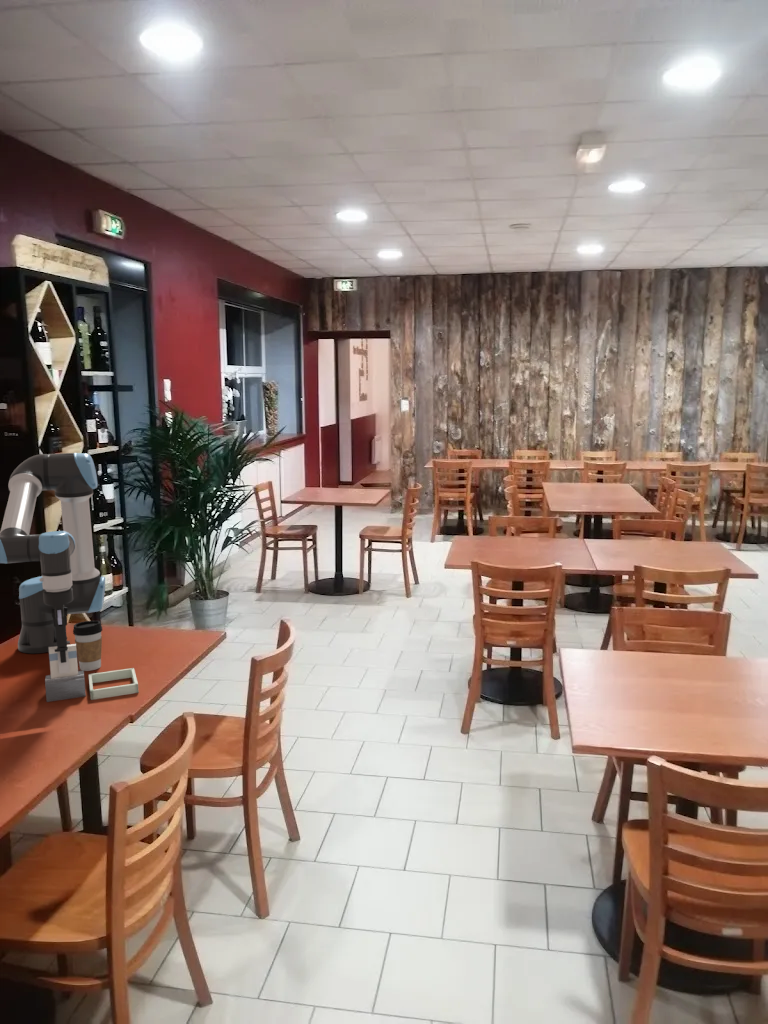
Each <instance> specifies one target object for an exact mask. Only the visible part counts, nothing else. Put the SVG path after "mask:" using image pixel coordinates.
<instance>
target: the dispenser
mask: <svg viewBox="0 0 768 1024" xmlns="http://www.w3.org/2000/svg"><path fill="white" fill-rule="evenodd" d="M44 683H45V684H44V686H45V687H44V688H45V700H46V703H49V702H56V701H63V700H69V699H76V698H84V697H87V695H86V681H85V671H84V670H78V675H73V676H66V677H58V678H51V674H48V675H45V679H44Z"/></svg>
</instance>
